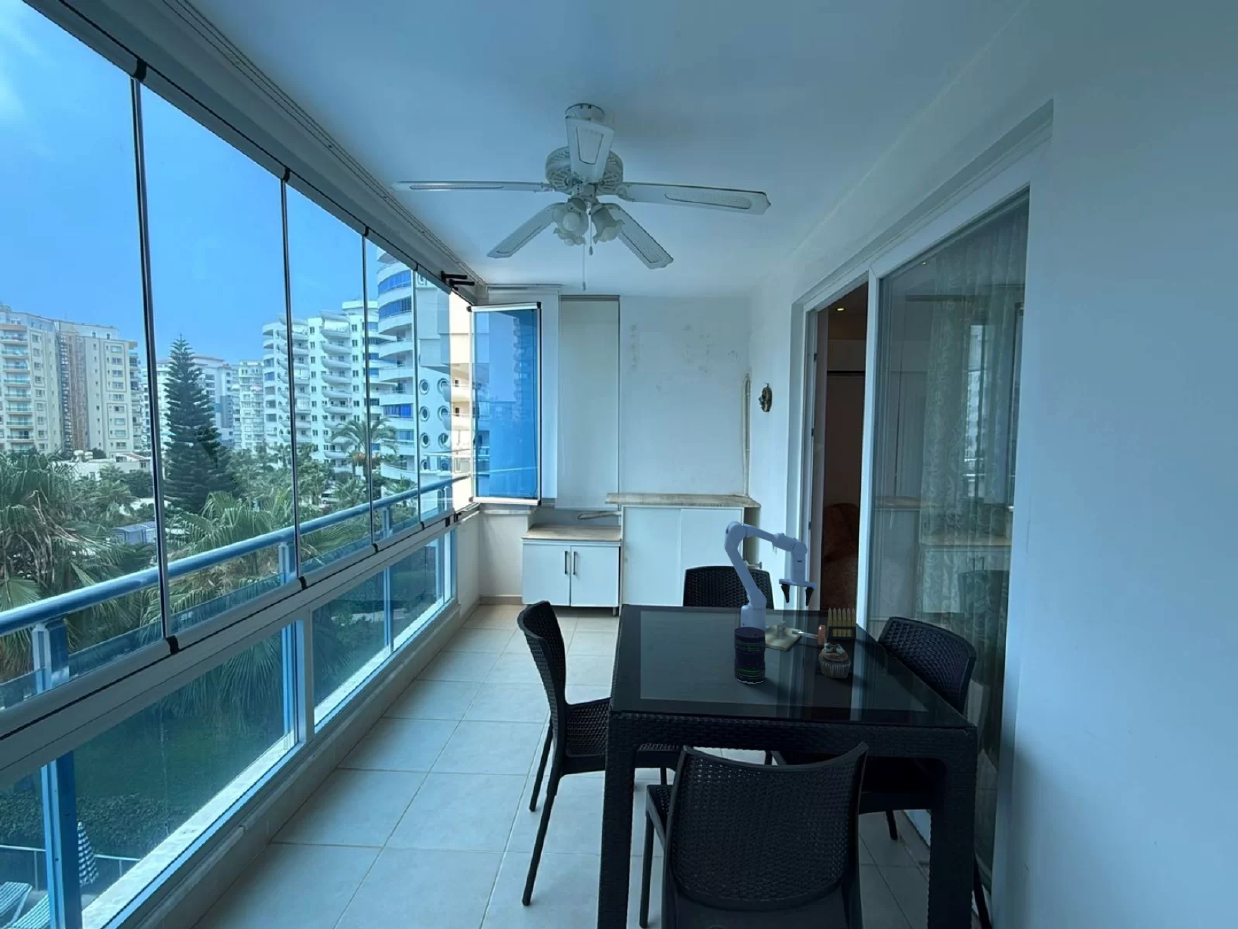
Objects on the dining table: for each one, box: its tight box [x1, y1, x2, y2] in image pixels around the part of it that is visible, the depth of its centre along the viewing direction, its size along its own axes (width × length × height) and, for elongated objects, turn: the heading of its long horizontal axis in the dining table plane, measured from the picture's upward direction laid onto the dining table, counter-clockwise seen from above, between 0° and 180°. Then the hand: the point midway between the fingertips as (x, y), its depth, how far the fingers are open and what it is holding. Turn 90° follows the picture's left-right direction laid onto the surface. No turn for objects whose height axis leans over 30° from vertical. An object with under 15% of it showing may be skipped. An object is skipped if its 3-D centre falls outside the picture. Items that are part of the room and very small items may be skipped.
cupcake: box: [818, 641, 852, 679], centre depth 180 cm, size 10×10×10 cm
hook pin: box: [792, 624, 828, 646], centre depth 206 cm, size 12×7×7 cm, turn 57°
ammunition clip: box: [826, 607, 857, 641], centre depth 212 cm, size 11×2×12 cm, turn 86°
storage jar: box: [733, 626, 767, 683], centre depth 177 cm, size 10×10×15 cm
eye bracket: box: [765, 620, 804, 652], centre depth 213 cm, size 12×22×6 cm, turn 147°
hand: (797, 604), depth 222 cm, fingers open, 7 cm apart
